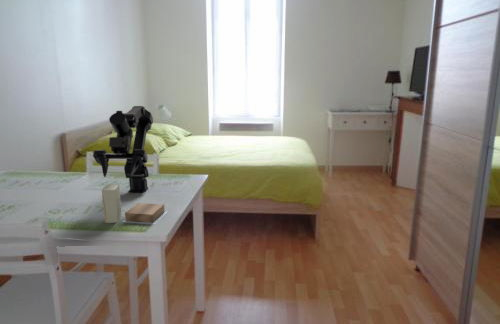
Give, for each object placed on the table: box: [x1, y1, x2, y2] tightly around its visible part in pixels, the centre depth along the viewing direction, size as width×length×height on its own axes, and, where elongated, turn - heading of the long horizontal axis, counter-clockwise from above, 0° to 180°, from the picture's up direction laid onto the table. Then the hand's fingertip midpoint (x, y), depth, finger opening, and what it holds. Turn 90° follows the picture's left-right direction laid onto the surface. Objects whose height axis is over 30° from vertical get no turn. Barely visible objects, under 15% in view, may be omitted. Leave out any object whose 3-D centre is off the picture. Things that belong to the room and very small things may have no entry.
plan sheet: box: [121, 210, 169, 225], centre depth 131 cm, size 12×12×1 cm
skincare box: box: [101, 183, 123, 224], centre depth 127 cm, size 6×4×12 cm
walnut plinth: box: [124, 202, 165, 223], centre depth 130 cm, size 10×10×3 cm
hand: (117, 176), depth 133 cm, fingers open, 9 cm apart
